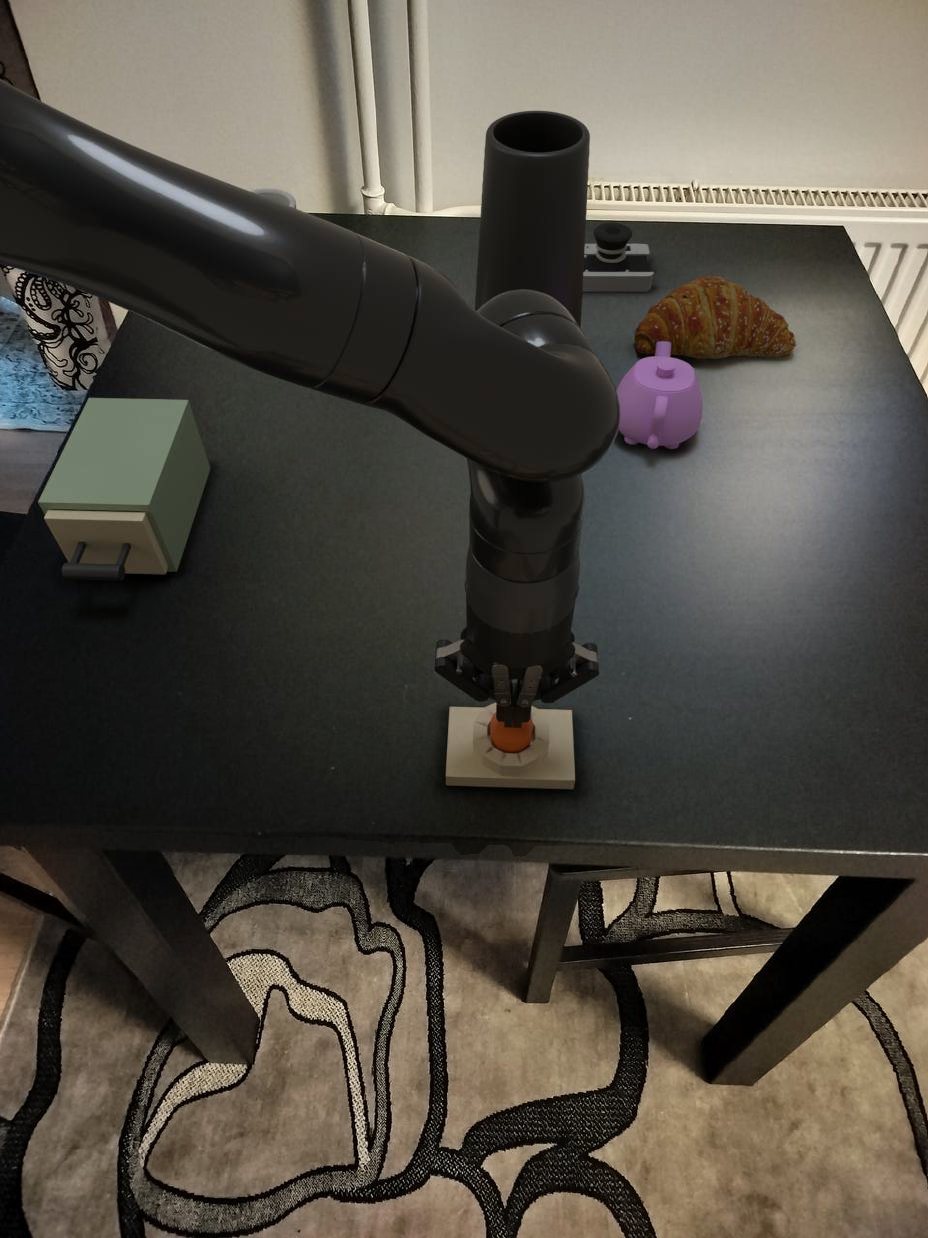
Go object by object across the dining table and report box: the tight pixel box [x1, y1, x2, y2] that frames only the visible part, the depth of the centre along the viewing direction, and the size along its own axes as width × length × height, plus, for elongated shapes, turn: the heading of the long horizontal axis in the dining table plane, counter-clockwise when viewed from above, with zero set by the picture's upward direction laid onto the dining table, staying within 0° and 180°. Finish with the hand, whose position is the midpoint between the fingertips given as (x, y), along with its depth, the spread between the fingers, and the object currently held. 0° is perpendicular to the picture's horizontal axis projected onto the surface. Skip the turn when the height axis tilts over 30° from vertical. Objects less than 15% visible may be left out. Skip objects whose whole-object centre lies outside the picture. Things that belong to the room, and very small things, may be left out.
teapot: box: [616, 341, 704, 450], centre depth 100 cm, size 10×15×9 cm
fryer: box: [37, 397, 211, 573], centre depth 91 cm, size 16×11×10 cm
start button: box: [490, 712, 533, 752], centre depth 73 cm, size 4×4×2 cm
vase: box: [474, 110, 591, 329], centre depth 98 cm, size 14×14×29 cm
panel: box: [445, 702, 576, 790], centre depth 75 cm, size 11×7×4 cm, turn 88°
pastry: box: [634, 275, 797, 360], centre depth 110 cm, size 21×13×8 cm, turn 93°
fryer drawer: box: [43, 509, 168, 582], centre depth 88 cm, size 19×10×8 cm, turn 178°
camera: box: [582, 221, 655, 293], centre depth 121 cm, size 15×7×10 cm
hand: (512, 718), depth 72 cm, fingers closed
